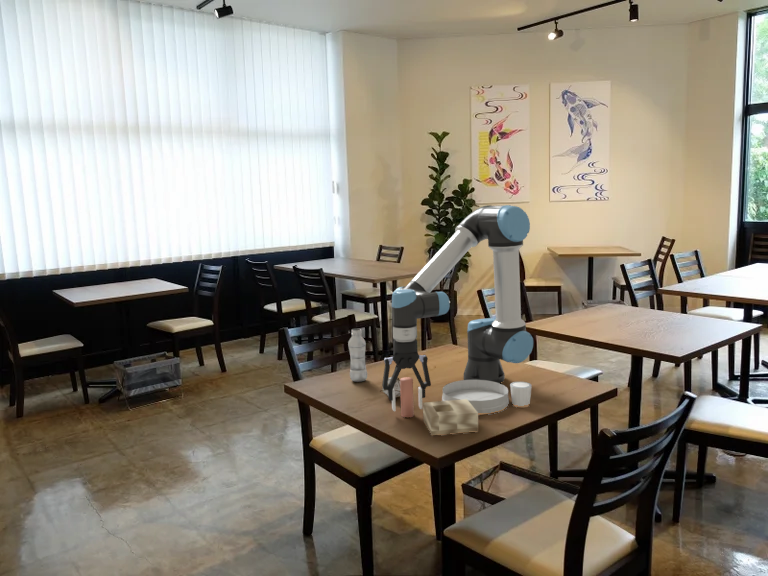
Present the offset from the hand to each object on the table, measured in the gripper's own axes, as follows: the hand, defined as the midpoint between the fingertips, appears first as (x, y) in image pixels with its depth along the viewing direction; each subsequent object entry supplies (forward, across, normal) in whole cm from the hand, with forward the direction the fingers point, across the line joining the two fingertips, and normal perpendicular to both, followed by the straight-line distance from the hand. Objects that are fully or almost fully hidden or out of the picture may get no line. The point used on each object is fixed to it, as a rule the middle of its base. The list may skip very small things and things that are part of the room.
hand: (407, 408), depth 194 cm
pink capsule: (+2, 0, 0) cm, 2 cm away
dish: (+3, +24, +6) cm, 25 cm away
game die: (+2, -2, +17) cm, 17 cm away
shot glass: (+2, +38, +1) cm, 38 cm away
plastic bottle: (+2, -12, +39) cm, 41 cm away
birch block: (+2, +11, -12) cm, 16 cm away
